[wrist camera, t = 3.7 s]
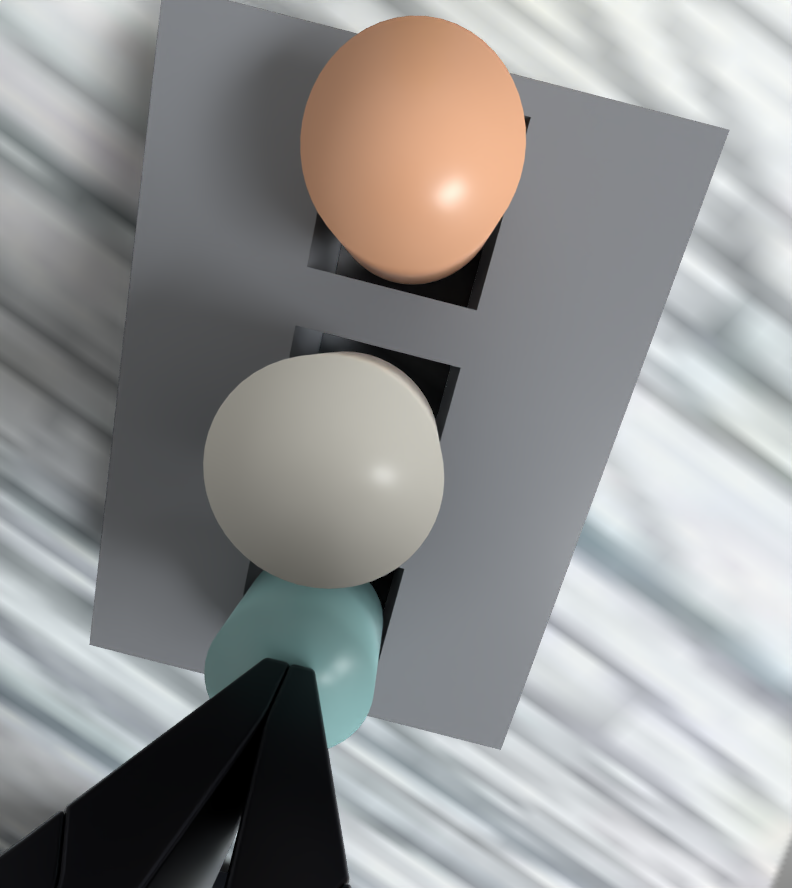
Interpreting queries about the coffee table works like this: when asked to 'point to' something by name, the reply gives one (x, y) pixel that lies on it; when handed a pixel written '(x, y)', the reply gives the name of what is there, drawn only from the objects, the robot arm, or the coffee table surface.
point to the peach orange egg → (413, 147)
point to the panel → (392, 327)
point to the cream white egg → (325, 469)
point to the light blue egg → (306, 644)
